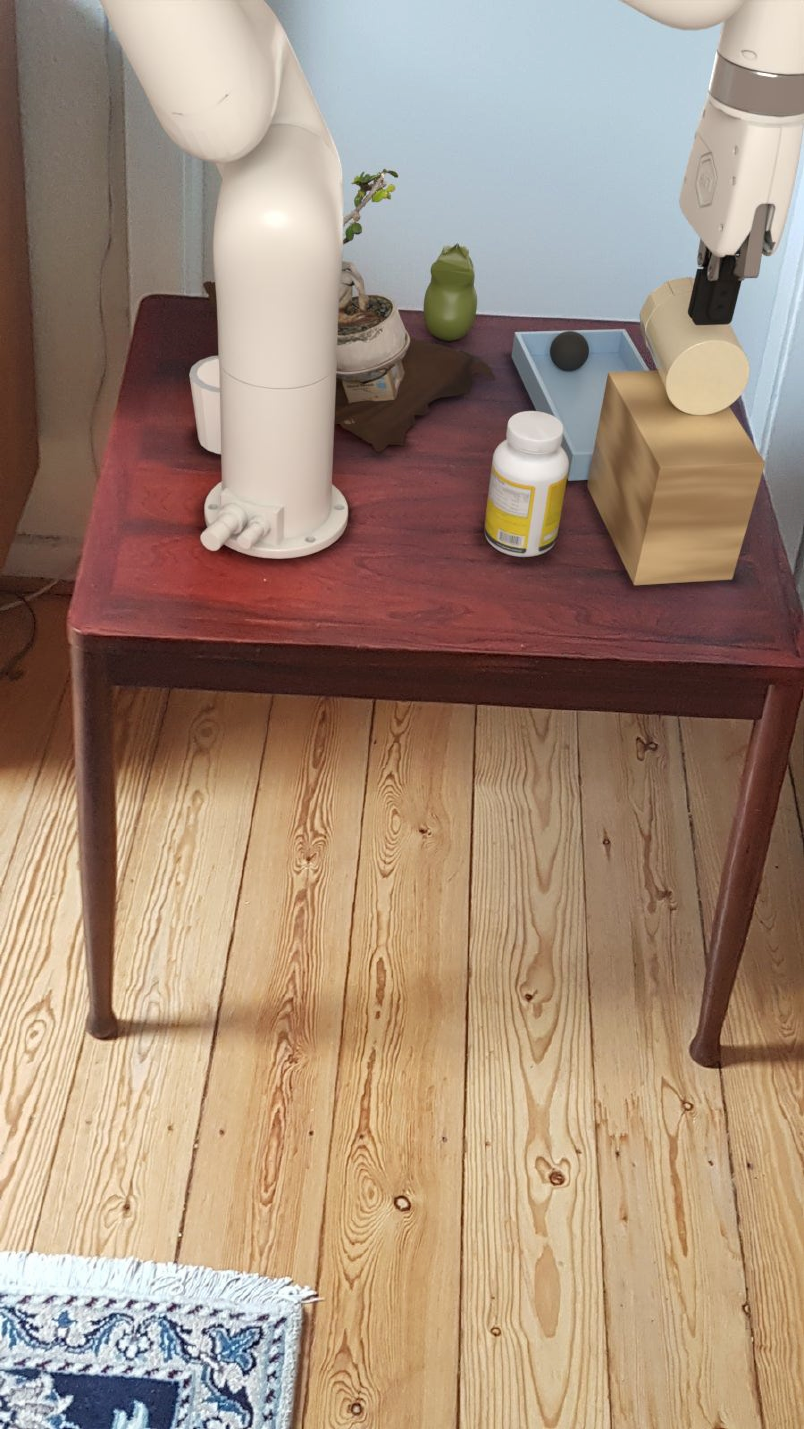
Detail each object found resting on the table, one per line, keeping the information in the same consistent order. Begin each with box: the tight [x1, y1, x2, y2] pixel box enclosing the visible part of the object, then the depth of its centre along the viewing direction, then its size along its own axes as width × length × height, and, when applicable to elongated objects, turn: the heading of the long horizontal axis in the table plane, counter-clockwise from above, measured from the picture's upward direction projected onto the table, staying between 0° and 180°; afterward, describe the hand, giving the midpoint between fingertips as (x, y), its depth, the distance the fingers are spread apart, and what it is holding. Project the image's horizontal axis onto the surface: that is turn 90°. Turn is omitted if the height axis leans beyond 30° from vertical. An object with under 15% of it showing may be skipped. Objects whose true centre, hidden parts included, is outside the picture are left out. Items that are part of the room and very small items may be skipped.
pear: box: [422, 242, 478, 342], centre depth 149 cm, size 6×5×10 cm
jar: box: [639, 276, 751, 415], centre depth 123 cm, size 7×7×11 cm
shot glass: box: [188, 355, 221, 455], centre depth 133 cm, size 7×7×7 cm
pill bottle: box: [483, 410, 569, 558], centre depth 123 cm, size 6×6×12 cm
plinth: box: [586, 369, 766, 586], centre depth 125 cm, size 15×9×12 cm, turn 10°
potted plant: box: [202, 168, 496, 452], centre depth 138 cm, size 20×19×25 cm
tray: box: [510, 328, 650, 482], centre depth 142 cm, size 23×12×3 cm, turn 10°
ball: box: [550, 330, 589, 371], centre depth 147 cm, size 4×4×4 cm
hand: (708, 319), depth 114 cm, fingers closed
